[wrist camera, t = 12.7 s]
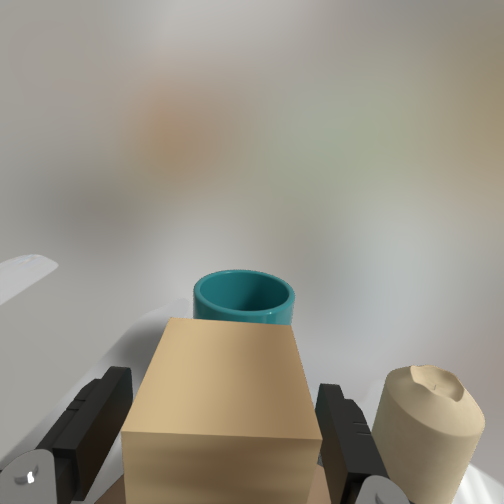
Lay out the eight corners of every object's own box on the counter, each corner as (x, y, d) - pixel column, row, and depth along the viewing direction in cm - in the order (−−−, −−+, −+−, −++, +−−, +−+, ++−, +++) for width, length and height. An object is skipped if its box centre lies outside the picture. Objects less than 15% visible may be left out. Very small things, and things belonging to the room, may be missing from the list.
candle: (429, 558, 17) (483, 435, 14) (347, 482, 21) (375, 372, 18) (453, 494, 21) (501, 384, 18) (380, 439, 25) (408, 341, 22)
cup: (158, 442, 23) (153, 321, 19) (211, 351, 34) (214, 264, 31) (268, 475, 21) (284, 348, 18) (286, 368, 32) (298, 277, 29)
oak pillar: (136, 634, 10) (120, 431, 7) (169, 481, 15) (170, 317, 12) (274, 634, 10) (322, 439, 7) (264, 484, 15) (291, 325, 12)
